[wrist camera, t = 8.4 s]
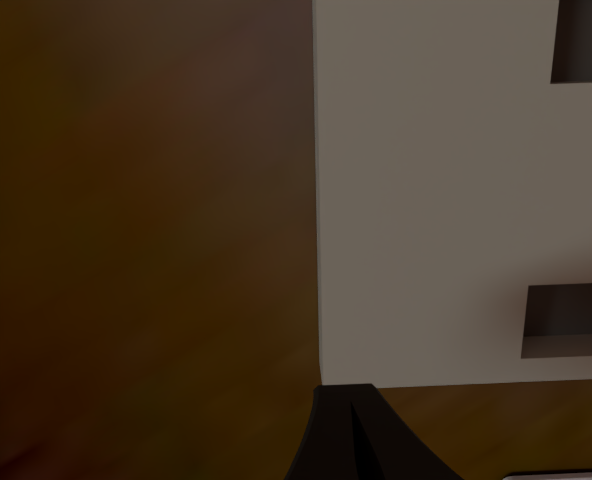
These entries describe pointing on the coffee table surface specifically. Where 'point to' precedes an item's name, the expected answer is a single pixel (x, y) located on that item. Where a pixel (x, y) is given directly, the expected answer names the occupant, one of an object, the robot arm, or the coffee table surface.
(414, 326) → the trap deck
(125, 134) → the coffee table surface
